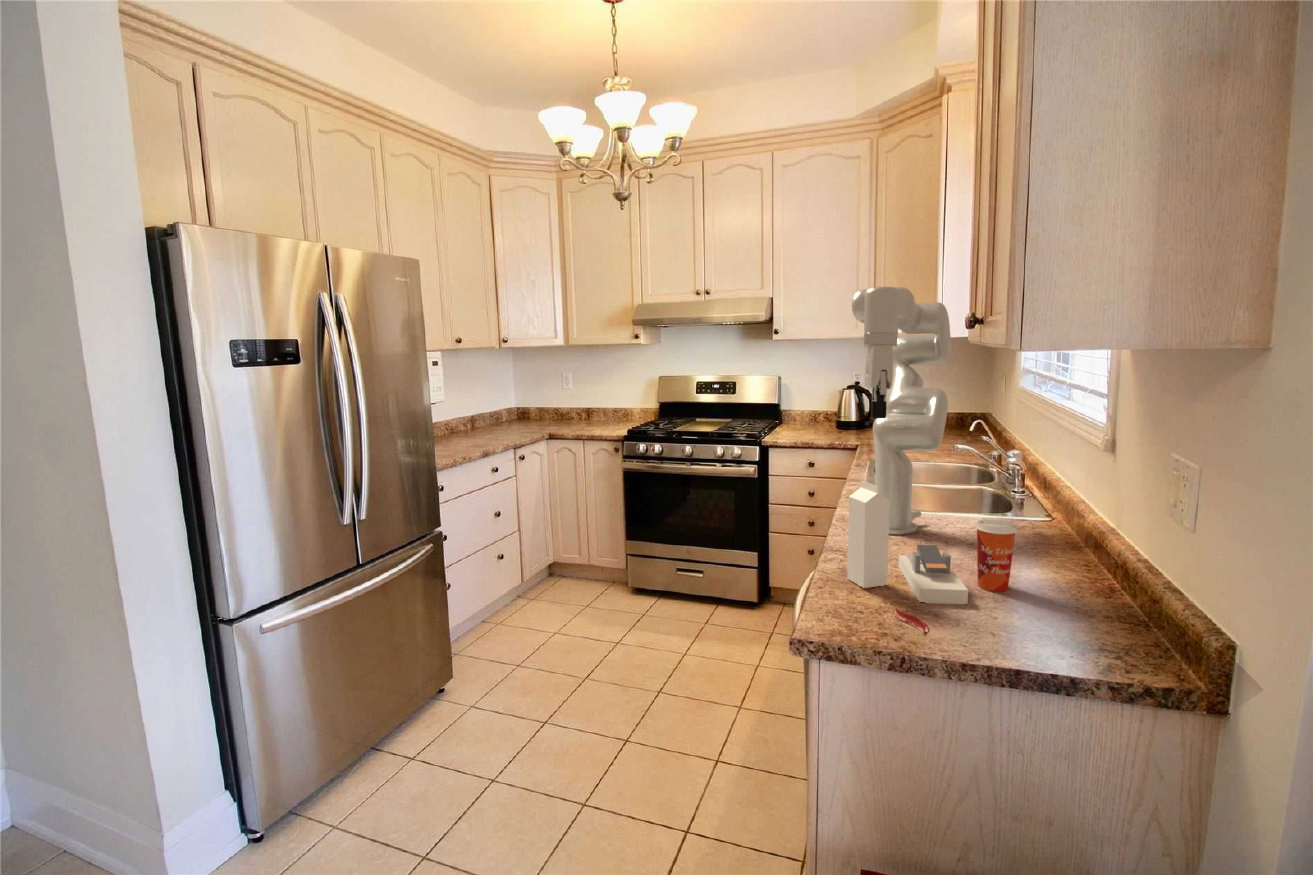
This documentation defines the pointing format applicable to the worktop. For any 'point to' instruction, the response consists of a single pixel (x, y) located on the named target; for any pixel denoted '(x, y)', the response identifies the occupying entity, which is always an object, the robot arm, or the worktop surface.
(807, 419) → the worktop surface
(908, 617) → the cayenne pepper
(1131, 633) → the worktop surface
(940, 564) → the breaker paddle
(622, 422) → the worktop surface
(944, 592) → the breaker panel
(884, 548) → the milk
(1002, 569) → the paper cup
